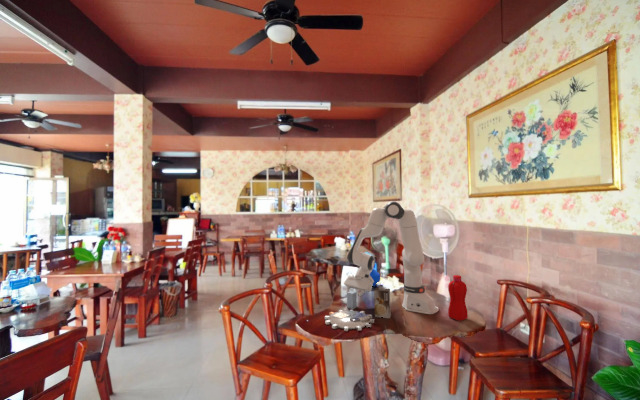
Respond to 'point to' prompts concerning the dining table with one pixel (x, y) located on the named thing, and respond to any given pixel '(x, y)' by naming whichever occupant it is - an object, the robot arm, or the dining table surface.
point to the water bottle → (457, 299)
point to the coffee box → (382, 302)
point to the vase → (375, 276)
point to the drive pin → (351, 299)
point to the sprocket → (349, 320)
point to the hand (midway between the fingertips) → (353, 294)
